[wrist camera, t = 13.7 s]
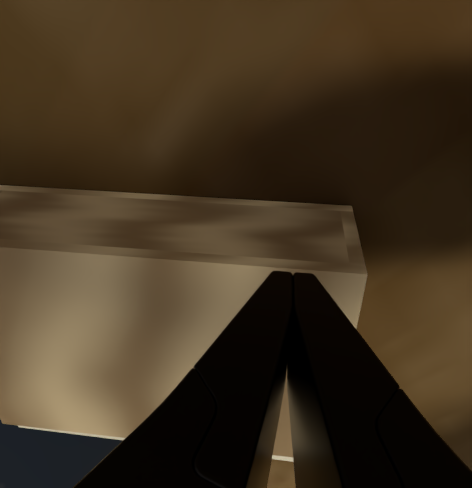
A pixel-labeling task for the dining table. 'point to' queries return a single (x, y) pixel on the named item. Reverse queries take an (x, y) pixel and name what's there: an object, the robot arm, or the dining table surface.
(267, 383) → the robot arm
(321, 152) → the dining table surface
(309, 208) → the cabinet
